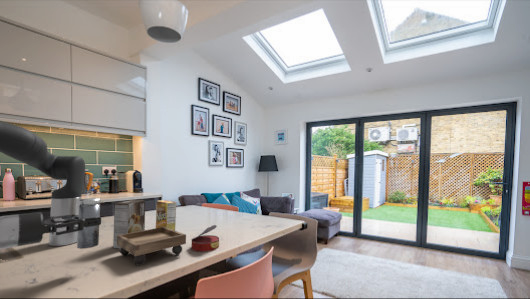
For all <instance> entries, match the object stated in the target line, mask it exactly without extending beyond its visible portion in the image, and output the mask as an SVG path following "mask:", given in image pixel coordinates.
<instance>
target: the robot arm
mask: <svg viewBox="0 0 530 299" xmlns="http://www.w3.org/2000/svg"><path fill="white" fill-rule="evenodd" d="M0 153H1V154H4V155H5V156H8V157H10V158H11V159H12V158H13V159H14V160H16V161H19V162H20V163H23V164H26V165H27V166H29V167H32V168H34V169H36V170H38V171H40V173H42V174H44V175H46V176H47V177H49V178H51V179H53V180H58V181H62V180H63V181H66V182H65V185H63V186H62V187H59V188H57V189H54V190H52V192H51V199H50V200H51V201H50V216H48V219H44V214H43V213H42V212H41V211H40V212H39V211H38V212H29V213H20V214H10V215H2V216H0V250H5V249H9V248H16V247H22V246H29V245H33V244H39V243H41V242H42V240H43V237H44V234H48V245H49V246H52V247H58V246H59V247H60V246H67V245H71V244H75V243H76V244H77V236H78V231H82V230H84V228H85V227H91V226H97V225H99V226H100V225H101V224H102V217H101V216H100V217H94V218H87V219H84V218H82V219H78V214H79V200H80V199H82V194H83V190H84V187H85V186H84V185H85V176H86V163H85V160H84V158H83V157H81V156H78V155H77V156H73V155H72V156H71V155H70V156H69V155H67V156H65V155H62V156H61V155H56V154H53V153H51V152H49V151H48V145H47V143H46V141H45V140H44V139H43V138H42V137H40V136H38V135H37V134H35V133H34V132H32V131H31V130H29V129H27V128H25V127H23V126H20V125H17V124H13V123H10V122H6V121H2V120H0Z"/></svg>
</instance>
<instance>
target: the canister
mask: <svg viewBox="0 0 530 299" xmlns="http://www.w3.org/2000/svg"><path fill="white" fill-rule="evenodd" d="M100 213H101V198H100V197H89V198H88V197H87V198H81V199H80V200H79V214H78V219H82V218H84V219H87V218H94V217H100V218H101V214H100ZM99 243H100V225H97V226H91V227H85V228H84V230H82V231H78V236H77V242H76V248H77V249H80V250H84V249H91V248H95V247H97V246H98V245H99Z"/></svg>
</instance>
